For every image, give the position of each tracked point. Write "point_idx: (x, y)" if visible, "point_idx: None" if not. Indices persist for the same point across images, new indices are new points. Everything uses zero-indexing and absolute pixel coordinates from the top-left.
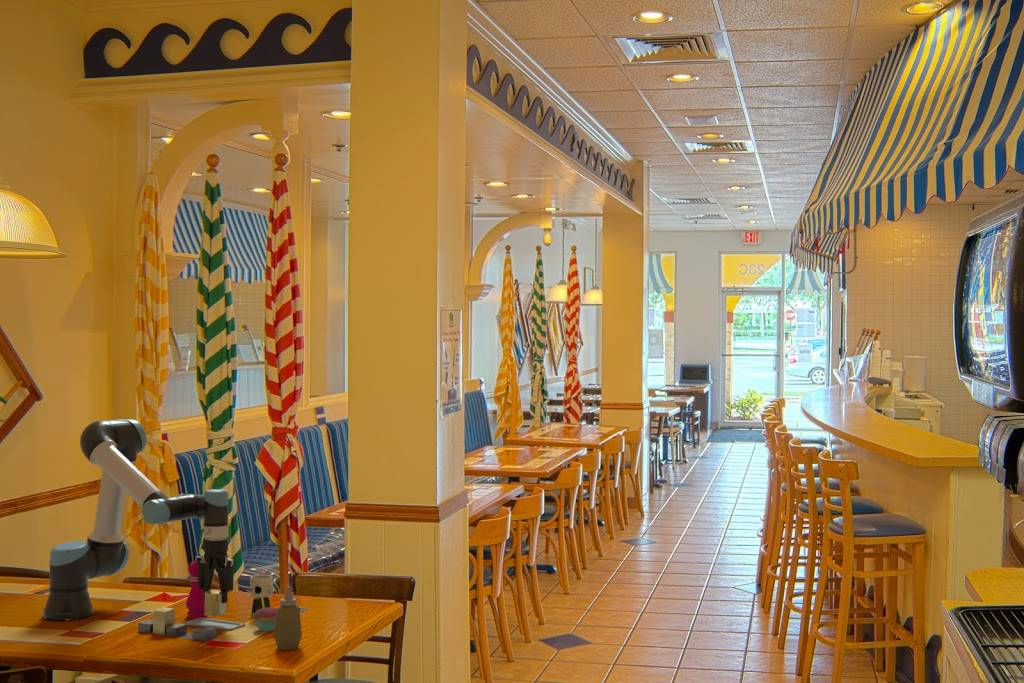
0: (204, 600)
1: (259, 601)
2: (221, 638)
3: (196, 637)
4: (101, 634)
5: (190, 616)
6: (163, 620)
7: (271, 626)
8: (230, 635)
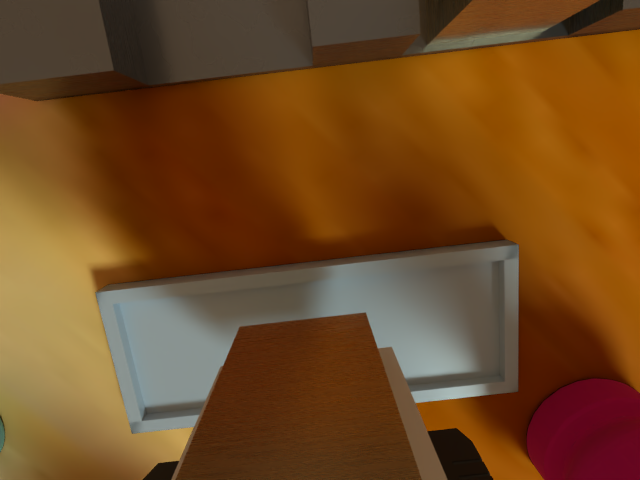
0: (453, 434)
1: None
2: (9, 125)
3: None
4: None
5: (605, 386)
6: None
7: None
8: (31, 220)
